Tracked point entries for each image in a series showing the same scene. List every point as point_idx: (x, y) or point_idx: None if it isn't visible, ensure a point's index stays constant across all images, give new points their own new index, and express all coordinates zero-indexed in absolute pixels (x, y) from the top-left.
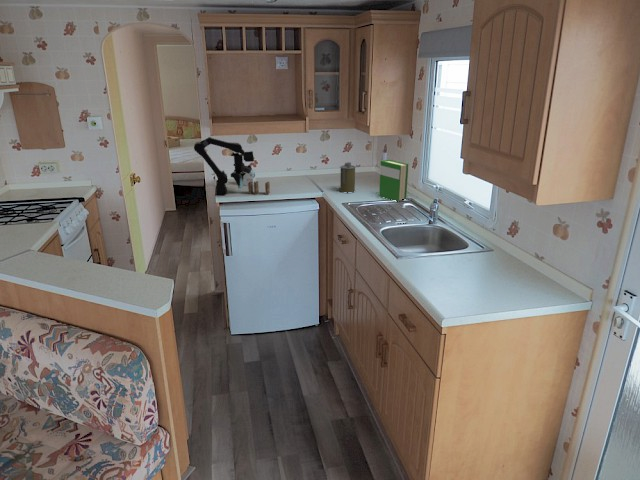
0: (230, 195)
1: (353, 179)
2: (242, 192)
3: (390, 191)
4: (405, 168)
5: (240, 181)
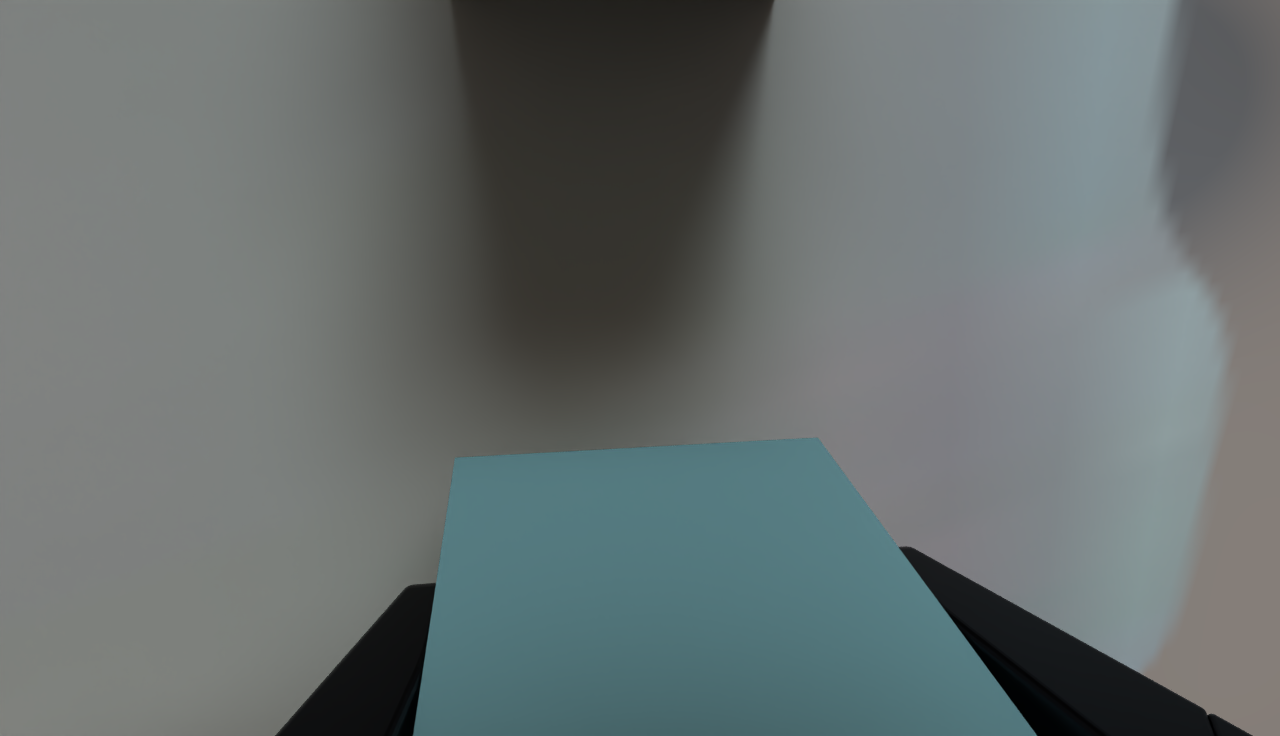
0: None
1: None
2: (538, 351)
3: None
4: None
5: (876, 704)
